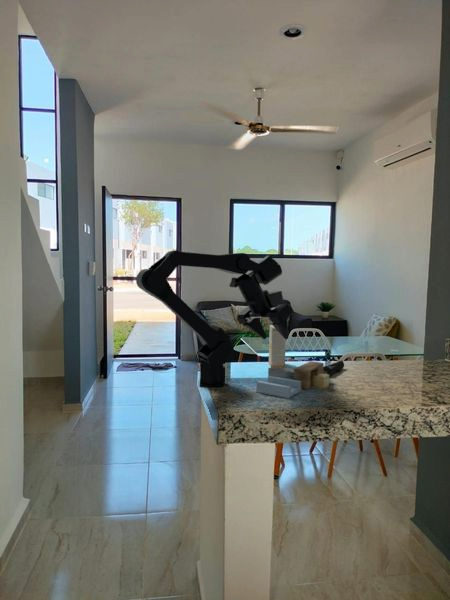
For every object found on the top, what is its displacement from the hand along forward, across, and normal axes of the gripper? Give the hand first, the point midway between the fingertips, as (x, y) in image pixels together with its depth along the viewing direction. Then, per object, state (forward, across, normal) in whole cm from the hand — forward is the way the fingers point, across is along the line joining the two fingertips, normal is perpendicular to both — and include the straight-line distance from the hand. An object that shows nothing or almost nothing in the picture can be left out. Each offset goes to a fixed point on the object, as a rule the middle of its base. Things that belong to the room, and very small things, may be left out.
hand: (275, 338), depth 123 cm
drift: (+10, -3, +7) cm, 13 cm away
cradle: (+6, -10, +15) cm, 19 cm away
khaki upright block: (+13, -11, +5) cm, 18 cm away
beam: (+13, -9, +4) cm, 16 cm away
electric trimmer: (+21, -4, -10) cm, 23 cm away
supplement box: (+15, +13, -5) cm, 20 cm away
